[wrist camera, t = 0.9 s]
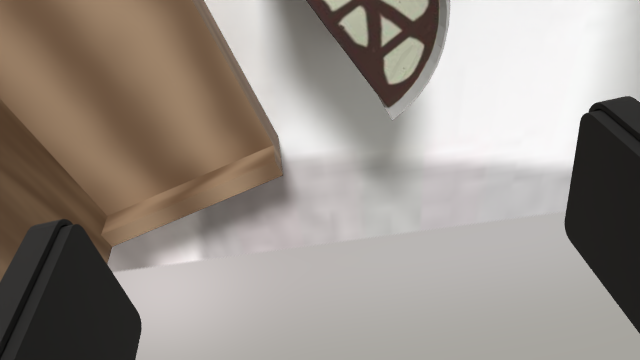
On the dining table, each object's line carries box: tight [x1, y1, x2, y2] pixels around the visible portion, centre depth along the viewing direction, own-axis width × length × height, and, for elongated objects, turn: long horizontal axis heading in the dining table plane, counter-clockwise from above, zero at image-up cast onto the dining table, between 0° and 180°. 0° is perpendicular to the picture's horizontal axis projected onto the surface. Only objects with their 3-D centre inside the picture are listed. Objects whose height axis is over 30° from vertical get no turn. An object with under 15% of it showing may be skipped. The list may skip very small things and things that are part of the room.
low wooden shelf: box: [0, 0, 283, 281], centre depth 25 cm, size 14×20×15 cm
